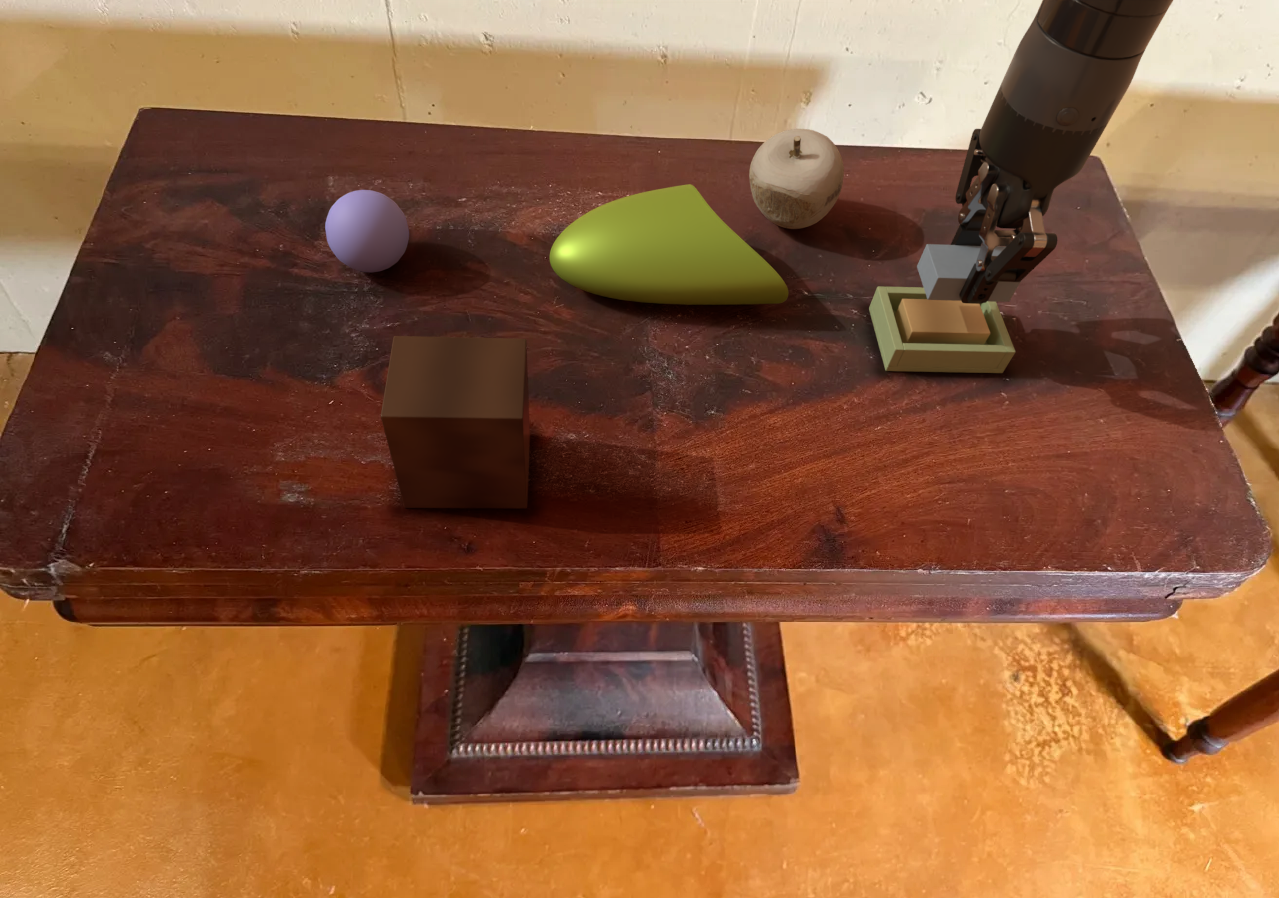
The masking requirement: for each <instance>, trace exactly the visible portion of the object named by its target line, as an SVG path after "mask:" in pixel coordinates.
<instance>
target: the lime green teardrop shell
mask: <svg viewBox="0 0 1279 898" xmlns="http://www.w3.org/2000/svg"><path fill="white" fill-rule="evenodd" d="M549 263H550V266H551V268H552V270H553V271H554V273H555V274H556V275H557V276H558V277H559V278H560V279H561V280H563V281H564V282H565V283H567V284H568V285H570V286H572V287H575V288H577V289H579V290H581V291H584V292H586V293H590V294H593V295H596V296H600V297H603V298H608V299H613V300H619V301H620V300H621V301H628V302H634V303H635V302H636V303H644V304H645V303H646V304H658V305H659V304H661V305H683V306H684V305H688V306H691V305H692V306H694V305H695V306H700V305H701V306H717V305H718V306H721V305H725V306H726V305H728V306H729V305H776V304H783V303H785V302H786V301H787V299H788V297H789V288H788V286H787V284H786V283H785V282H786V281H784V280H783V278H782V277H781V275H780V274H779V273H778V271H776V270H775V269H774V268H773V267H772V266H771V264H770V263H768V262H767V260H765V259H764V257H762V256H761V255H760V254H759V253H758V252H757V251H756V250H755V249H753V248H752V247H751V246H750V245H749V244H748V243H747V242H746V241H745V240H744V239H742V238H741V237H740V236H739V235H738V234H737V233H736V232H735V231H734V230H733V229H732V228H731V227H730V226H728V224H726V222H725V221H723V219H722V218H721V217H720V216H719V215H718V214H717V213H716V212H715V211H714V210H713V209H712V207H711V206H710V205H709V204H708V203H707V201H706V199H704V196H702V194H701V193H700V192H699V191H698V189H697V188H696V187H695V186H694V184H691V183H689V184H681V185H675V186H669V187H664V188H658V189H652V190H649V191H643V192H639V193H635V194H631V195H627V196H624V197H621V198H617V199H615V200H612V201H609V202H607V203H603V204H602V205H599V206H598V207H597V206H596V207H595V208H593V209H591V210H590V211H588V212H586V213H584V214H583V215H581V216H580V217H578V218H576V219H575V220H574V221H573V222H571V223H570V224H569V225H568V226H566V228H565V229H563V231H561V233H560V234H559V235H558V236H557V237H556V238H555V241H554V242H553V244H552V245H551V248H550V251H549Z"/></svg>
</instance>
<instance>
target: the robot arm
mask: <svg viewBox="0 0 1279 898" xmlns="http://www.w3.org/2000/svg"><path fill="white" fill-rule="evenodd" d="M1173 2H1174V0H1042V1H1041V3H1040V5H1039V7H1038V10H1037V12H1036V13H1035V16H1034V18H1033V20H1032V22H1031V23H1030V25H1029V27H1028V28H1027V30H1026V32H1025V33H1024V34H1023V36H1022V38H1021V40H1020V42H1019V43H1018V46H1017V48H1016V49H1015V52H1014V53H1013V56H1012V58H1011V61H1010V63H1009V65H1008V67H1007V70H1006V72H1005V74H1004V77H1003V79H1002V81H1001V83H1000V86H999V88H998V91H997V92H996V95H995V97H994V99H993V101H992V103H991V106H990V107H989V110H988V112H987V114H986V117H985V119H984V121H983V124H982V125H981V127H980V128H974V129H973V131H972V133H971V137H970V141H969V145H968V148H967V152H966V156H965V159H964V162H963V167H962V171H961V174H960V178H959V181H958V185H957V189H956V192H955V197H954V199H955V203H956V204H957V205H961V209H960V210H959V212H958V215H957V222H958V224H959V226H958V227H957V230H956V232H955V234H954V236H953V238H952V241H951V243H950V245H965V246H981V248H980V251H979V254H978V257H977V260H976V263H974V265H973V267H972V269H971V271H970V273H969V275H968V277H967V280H966V282H965V284H964V286H963V288H962V290H961V292H960V294H959V296H960V299H961V301H962V303H968V304H982V303H986V302H987V301H988V300H989V298H990V296H991V295H992V293H993V291H994V289H995V287H996V285H997V284H998V282H1020V281H1021V280H1022V281H1023V280H1024V279H1025V278H1026V277H1027V276H1028V275H1029V274H1030V273H1031V272H1032V271H1033V270H1034V269H1036V267H1037V266H1038V265H1040V263H1041V262H1042V261H1044V260H1045V259H1046V258H1047V257H1048V256H1049V255H1050V254H1051V253H1052V252H1053V251H1054V250H1055V249H1056V247H1057V244H1058V236H1057V233H1055V232H1046V230H1045V225H1044V218H1043V217H1044V216H1045V215H1046V214H1047V212H1048V210H1049V208H1050V203H1051V200H1052V196H1053V193H1054V191H1055V189H1056V188H1057V187H1059V186H1060V185H1061V184H1063V183H1065V182H1067V181H1068V180H1070V179H1073V177H1075V176H1077V175H1078V174H1079V173H1080V172H1081V170H1082V169H1083V168H1084V166H1085V164H1086V163H1087V161H1088V159H1089V158H1090V156H1091V153H1093V151H1094V149H1095V148H1096V146H1097V144H1098V142H1099V140H1100V139H1101V137H1102V135H1103V133H1104V131H1105V129H1106V128H1107V126H1108V124H1109V123H1110V121H1111V119H1112V117H1113V115H1114V114H1115V112H1116V111H1117V108H1118V106H1119V105H1120V103H1121V101H1122V100H1123V99H1124V96H1125V95H1126V93H1127V91H1128V89H1129V87H1130V85H1131V84H1132V81H1133V79H1134V77H1135V75H1136V72H1137V71H1138V70H1137V69H1138V67H1139V65H1140V62H1141V59H1142V57H1143V55H1144V53H1145V52H1146V49H1147V47H1148V45H1149V44H1150V42H1151V40H1152V38H1153V36H1154V35H1155V33H1156V31H1157V30H1158V28H1159V26H1160V24H1161V22H1162V20H1163V19H1164V17H1165V15H1166V13H1167V12H1168V10H1169V8H1170V7H1171V5H1172V4H1173ZM975 177H976V178H975ZM974 178H975V179H974ZM973 179H974V181H973ZM972 181H973V182H972ZM996 228H999V229H996ZM1003 229H1005V230H1003ZM1006 229H1007V230H1006ZM1008 229H1010V230H1008ZM1011 229H1012V230H1011ZM997 246H1003V247H1005V249H1004V250H1003V251H1002V252H1001V253H1000V254H999V255H998V256H992V254H993V251H994V249H995V247H997ZM1022 281H1021V282H1022ZM1021 282H1020V283H1021Z"/></svg>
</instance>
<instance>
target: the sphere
mask: <svg viewBox="0 0 1279 898" xmlns="http://www.w3.org/2000/svg"><path fill="white" fill-rule="evenodd" d="M324 224H325V226H324V228H325V236H326V242H327V244H328V247H329V249H330V250H331V252H332V253H333V254H334V256H335V257H336V258H337V260H338V261H339V262H341V264H344V265H345V266H347V267H349V269H351V270H355V271H358V272H361V273H378V272H382V271H385V270H387V269H390V268H391V267H393V266H394V265H396V264H397V263H399V261H400V260H401V258H403V256H404V254H405V253H406V252H407V251H406V250H407V248H408V245H409V240H410V229H409V225H408V221H407V217H406V215H405V213H404V212H403V210H402V209H401V208H400V206H399V205H398V204H397V203H396V201H394V199H392V198H391V197H389V196H387V195H385V194H383V193H381V192H378V191H375V190H371V189H359V190H353V191H350V192H348V193H347V192H346V193H345V194H343V195H342V196H341V197H339V198H338V199H337V200H336V201H335V202H334V203H333V205H331V207H330V209H329V211H328V213H327V216H326V220H325V223H324Z"/></svg>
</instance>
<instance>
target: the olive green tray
mask: <svg viewBox="0 0 1279 898" xmlns="http://www.w3.org/2000/svg"><path fill="white" fill-rule="evenodd" d="M902 299H927V296H926V293H925V290H924V287H919V286H918V287H917V286H916V287H915V286H879V285H878V286H877V287H876V289H875V291H874V295H873V297H872V300H871V302H870V305H869V307H868V311H869V314H870V318H871V322H872V326H873V329H874V333H875V337H876V341H877V344H878V348H879V351H880V355H881V359H882V363H883V366H884V370H885V372H915V373H916V372H917V373H918V372H919V373H920V372H922V373H923V372H924V373H968V374H969V373H971V374H973V373H975V374H978V373H979V374H1003V373H1004V371H1005V370H1006V368H1007V367H1008V365H1009V363H1010V361H1011V360H1012V359H1013V357H1014V356H1015V354H1016V349H1015V347H1014V344H1013V341H1012V339H1011V336H1010V334H1009V332H1008V329H1007V326H1006V323H1005V321H1004V318H1003V316H1002V314H1001V311H1000V308H999V306H998V303H997V302H991V301H987V302H986V303H982V304H980V307H981V309H982V312H983V315H984V317H985V320H986V323H987V325H988V328H989V331H990V335H989V337H988V339H987V340H986V342H985V344H984V345H968V344H921V343H903V344H902V340H901V337H900V334H899V330H898V327H897V323H896V320H895V314H896V312H897V309H898V307H899V305H900V303H901V300H902Z"/></svg>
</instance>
